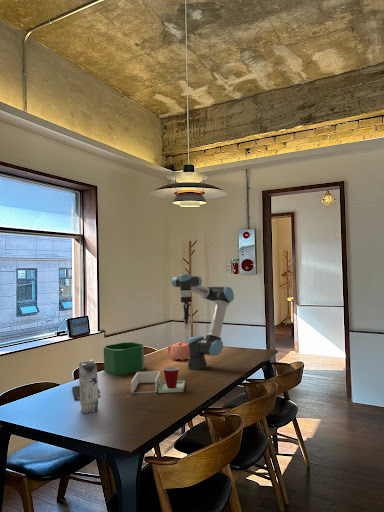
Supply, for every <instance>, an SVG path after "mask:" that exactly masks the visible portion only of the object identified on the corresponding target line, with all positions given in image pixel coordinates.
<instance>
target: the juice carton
mask: <svg viewBox="0 0 384 512" xmlns="http://www.w3.org/2000/svg"><path fill="white" fill-rule="evenodd" d="M78 365H79V366H78V368H79V369H78V375H79V376H78V377H79V378H78V380H79V381H78V382H79V384H78V386H80V399H79V403H80V407H81V410H82V413H83V414H89V413H93V412H94V413H95V412H97V411H98V410H99V409H98V408H99V396H98V389H99V386H98V385H99V384H98V383H99V381H98V380H99V379H98V367H97V363H96V362H95V359H89V360H88V361H82V362H79V363H78ZM88 412H89V413H88Z"/></svg>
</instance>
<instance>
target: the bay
mask: <svg viewBox="0 0 384 512" xmlns="http://www.w3.org/2000/svg"><path fill="white" fill-rule="evenodd" d="M161 379H162V378H161V371H160V370H159V371H158V370H157V371H137V372H135V375H134V376H133V378H132V379H131V381H130V391H131V392H130V394H132V395H133V394H152V393H153V394H157V393H158V388H159V385H160V383H161ZM144 383H145V384H148V383H154V389H155V390H154V391H135V390H136V388H137V386H138V385H139V384H144Z"/></svg>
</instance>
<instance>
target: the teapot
mask: <svg viewBox="0 0 384 512" xmlns="http://www.w3.org/2000/svg"><path fill="white" fill-rule="evenodd" d="M167 353H169V354H170V359H171V360H174V362H177V361H178V360H180V361H181V362H185V360H187V359H189V343H182V342H181V341H179V342H177V343H173V344H172V345H171V344H170V345H169V344H168V345H167Z"/></svg>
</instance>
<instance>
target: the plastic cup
mask: <svg viewBox="0 0 384 512" xmlns="http://www.w3.org/2000/svg"><path fill="white" fill-rule="evenodd" d="M162 370H163V374H164V379H165V381H166V384H167V388H176V386H177V381H178V379H179V378H178V377H179V372H180V367H177V366H173V367H172V366H169V367H168V366H167V367H163V368H162Z"/></svg>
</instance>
